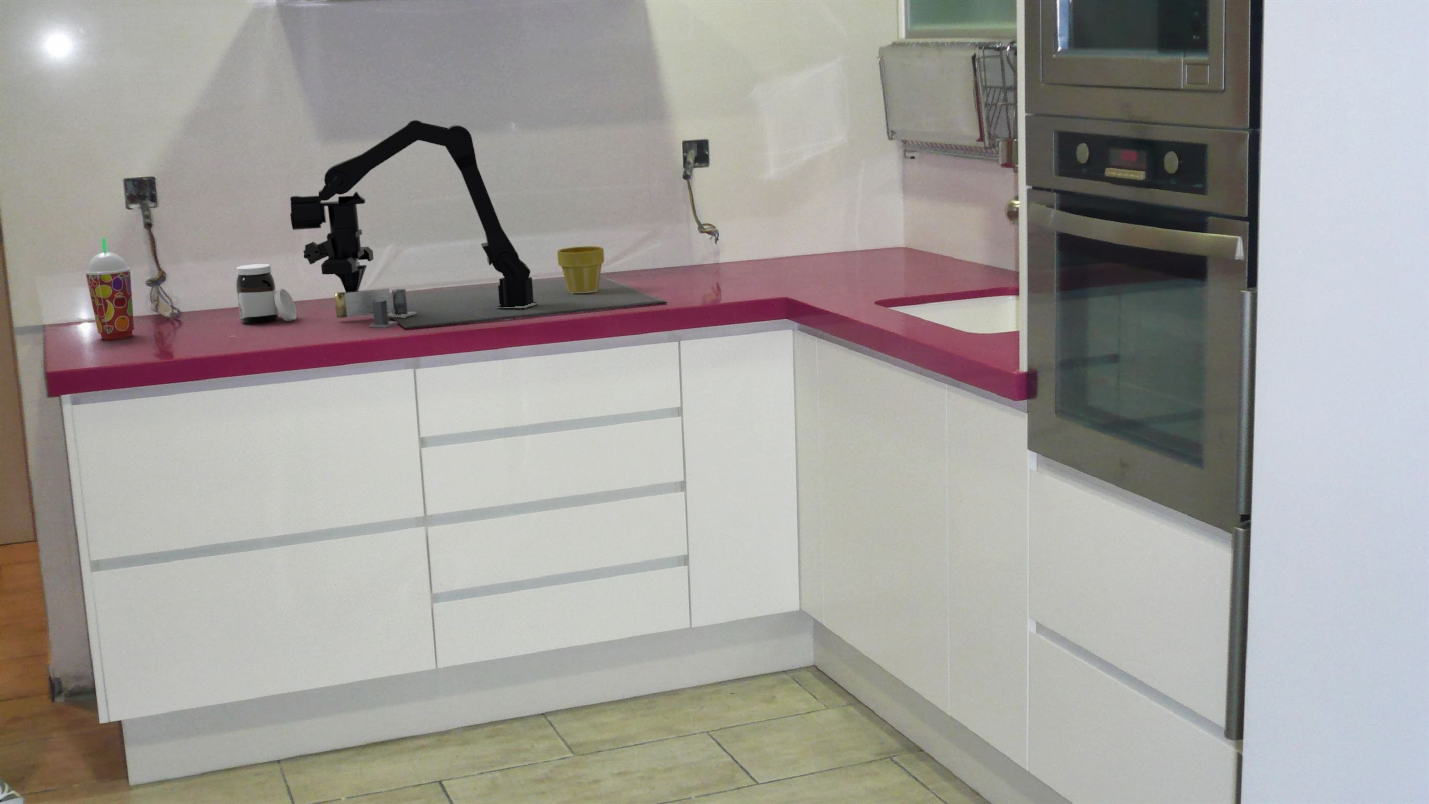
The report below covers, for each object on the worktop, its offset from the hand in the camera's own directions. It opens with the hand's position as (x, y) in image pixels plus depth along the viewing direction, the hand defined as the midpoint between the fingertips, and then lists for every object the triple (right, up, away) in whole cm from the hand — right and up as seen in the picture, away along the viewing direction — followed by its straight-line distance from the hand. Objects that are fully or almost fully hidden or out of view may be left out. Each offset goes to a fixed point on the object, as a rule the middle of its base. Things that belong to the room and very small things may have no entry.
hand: (352, 301), depth 294 cm
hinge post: (+10, -3, +2) cm, 10 cm away
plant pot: (+46, +4, +24) cm, 52 cm away
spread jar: (-18, -4, +3) cm, 19 cm away
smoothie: (-45, -8, -10) cm, 47 cm away
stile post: (+8, -5, -8) cm, 13 cm away
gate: (+3, -3, -1) cm, 4 cm away
